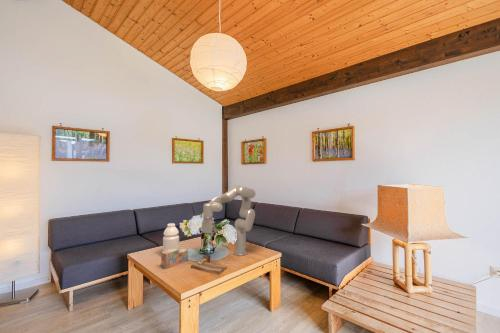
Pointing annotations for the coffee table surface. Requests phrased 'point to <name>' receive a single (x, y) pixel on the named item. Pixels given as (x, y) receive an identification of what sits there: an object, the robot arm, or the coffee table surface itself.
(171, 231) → the bottle
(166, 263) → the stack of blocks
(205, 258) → the gauge
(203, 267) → the board
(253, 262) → the coffee table surface
